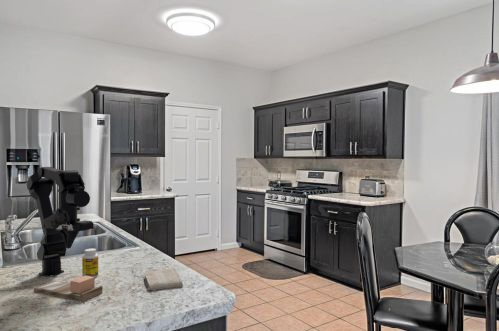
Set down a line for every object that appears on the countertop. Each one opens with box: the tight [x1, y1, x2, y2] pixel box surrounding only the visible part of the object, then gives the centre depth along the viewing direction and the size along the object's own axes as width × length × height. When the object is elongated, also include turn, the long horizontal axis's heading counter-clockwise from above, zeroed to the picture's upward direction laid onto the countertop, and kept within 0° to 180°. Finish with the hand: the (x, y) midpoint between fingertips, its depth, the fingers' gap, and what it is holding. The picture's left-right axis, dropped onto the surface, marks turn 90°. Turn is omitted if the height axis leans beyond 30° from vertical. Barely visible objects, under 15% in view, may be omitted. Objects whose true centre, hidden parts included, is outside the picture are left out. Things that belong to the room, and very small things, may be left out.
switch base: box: [33, 280, 104, 302], centre depth 120 cm, size 22×8×2 cm, turn 67°
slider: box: [69, 276, 96, 294], centre depth 118 cm, size 4×6×4 cm, turn 157°
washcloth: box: [143, 267, 184, 291], centre depth 131 cm, size 12×18×3 cm, turn 22°
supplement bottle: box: [81, 248, 99, 279], centre depth 136 cm, size 6×6×10 cm
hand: (68, 248), depth 131 cm, fingers closed
